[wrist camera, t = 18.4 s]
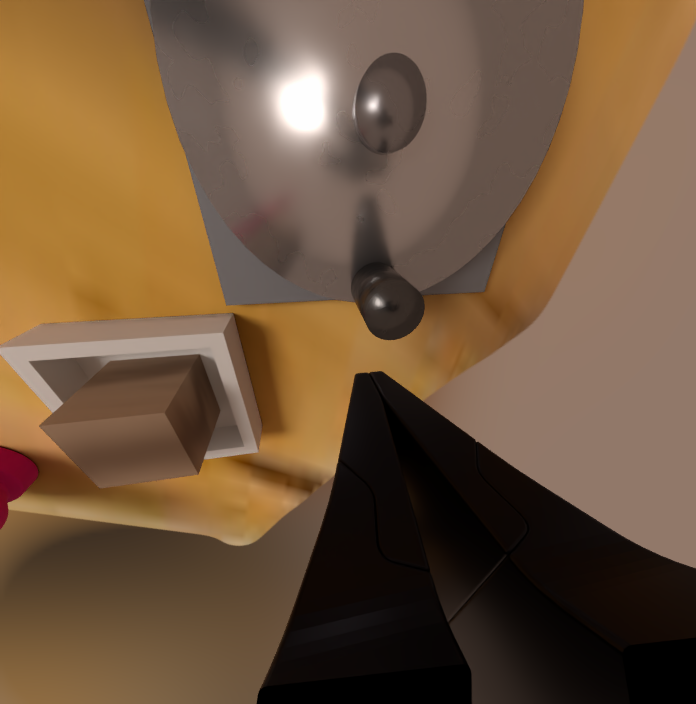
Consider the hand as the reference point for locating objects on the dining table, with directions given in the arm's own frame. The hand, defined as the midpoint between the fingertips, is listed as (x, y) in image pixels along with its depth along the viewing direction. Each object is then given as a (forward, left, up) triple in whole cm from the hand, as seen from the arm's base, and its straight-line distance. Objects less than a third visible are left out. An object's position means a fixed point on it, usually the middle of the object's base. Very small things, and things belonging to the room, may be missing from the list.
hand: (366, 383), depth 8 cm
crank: (-8, +3, -11) cm, 13 cm away
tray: (+8, -13, -12) cm, 20 cm away
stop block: (+8, -13, -12) cm, 19 cm away
